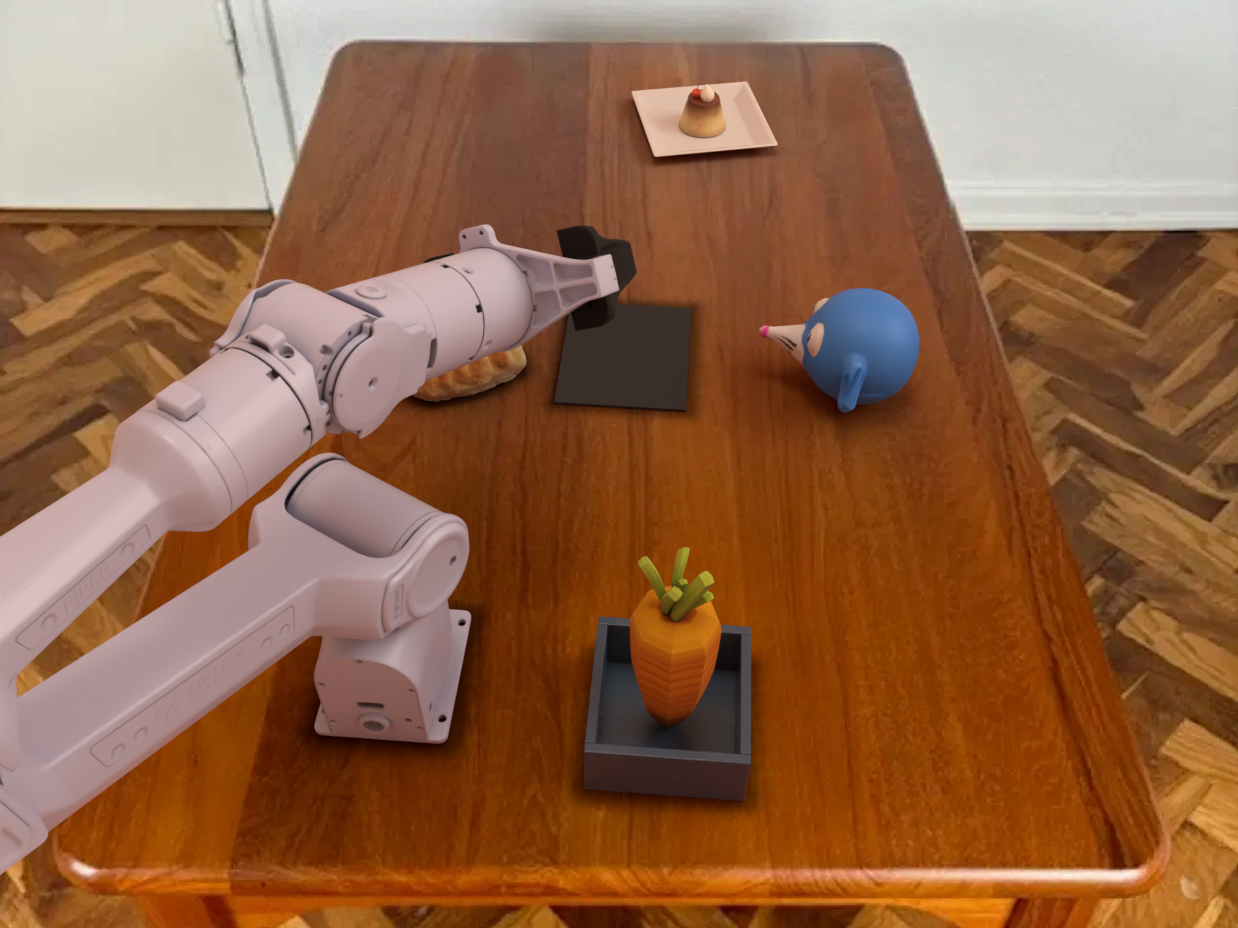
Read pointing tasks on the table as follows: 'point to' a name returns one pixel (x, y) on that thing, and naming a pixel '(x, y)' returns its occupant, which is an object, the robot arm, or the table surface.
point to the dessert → (702, 119)
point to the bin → (668, 756)
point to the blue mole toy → (854, 346)
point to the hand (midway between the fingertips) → (576, 269)
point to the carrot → (674, 641)
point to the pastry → (474, 376)
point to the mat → (628, 360)
